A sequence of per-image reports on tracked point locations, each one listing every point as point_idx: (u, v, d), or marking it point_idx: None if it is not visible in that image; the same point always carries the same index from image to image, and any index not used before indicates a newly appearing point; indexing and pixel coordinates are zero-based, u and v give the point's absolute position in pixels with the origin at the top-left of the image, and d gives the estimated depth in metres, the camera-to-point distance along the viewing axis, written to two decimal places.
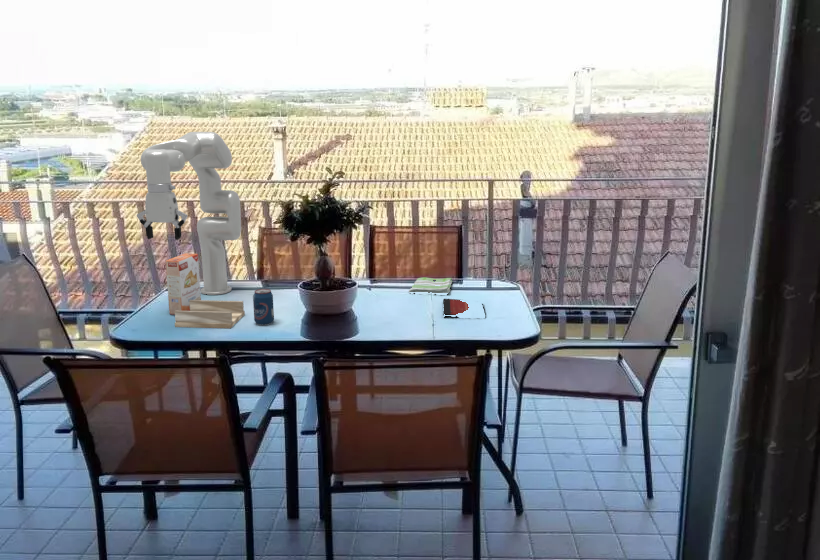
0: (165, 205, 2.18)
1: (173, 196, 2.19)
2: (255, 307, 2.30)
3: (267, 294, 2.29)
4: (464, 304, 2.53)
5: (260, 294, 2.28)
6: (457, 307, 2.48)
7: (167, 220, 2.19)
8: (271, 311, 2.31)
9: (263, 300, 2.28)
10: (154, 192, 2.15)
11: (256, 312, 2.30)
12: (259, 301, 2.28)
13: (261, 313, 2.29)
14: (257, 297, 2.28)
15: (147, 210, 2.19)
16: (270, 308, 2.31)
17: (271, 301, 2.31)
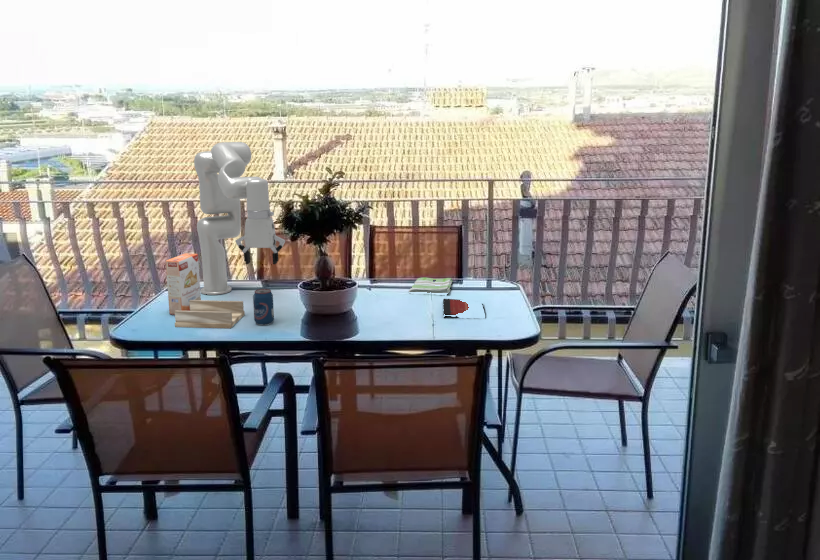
0: (264, 231, 2.23)
1: (272, 222, 2.24)
2: (255, 307, 2.30)
3: (267, 294, 2.29)
4: (464, 304, 2.53)
5: (260, 294, 2.28)
6: (457, 307, 2.48)
7: (266, 245, 2.24)
8: (271, 311, 2.31)
9: (263, 299, 2.28)
10: (255, 218, 2.21)
11: (256, 312, 2.30)
12: (259, 301, 2.28)
13: (261, 313, 2.29)
14: (257, 297, 2.28)
15: (246, 236, 2.24)
16: (270, 308, 2.31)
17: (271, 301, 2.31)
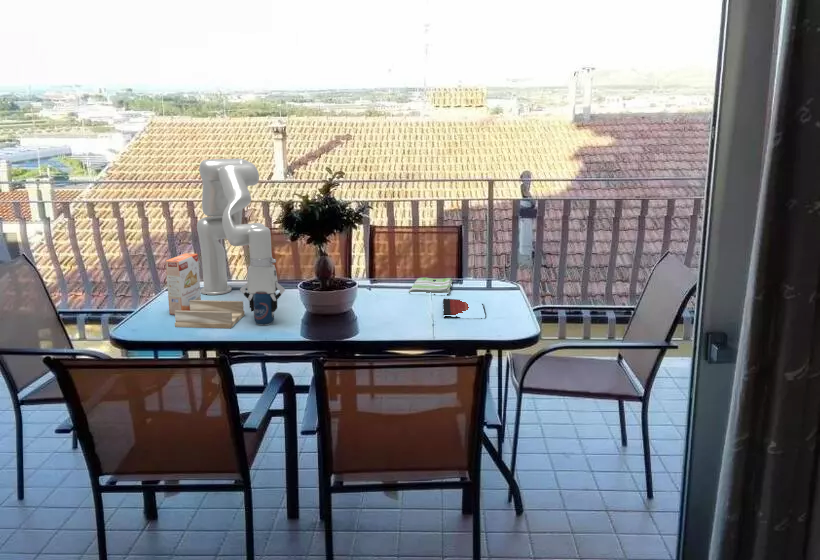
0: (266, 278, 2.27)
1: (274, 269, 2.28)
2: (255, 307, 2.30)
3: (267, 294, 2.29)
4: (464, 304, 2.53)
5: (260, 294, 2.28)
6: (457, 307, 2.48)
7: (268, 292, 2.29)
8: (271, 311, 2.31)
9: (263, 299, 2.28)
10: (257, 266, 2.25)
11: (256, 312, 2.30)
12: (259, 301, 2.28)
13: (261, 313, 2.29)
14: (257, 297, 2.28)
15: (249, 282, 2.28)
16: (270, 308, 2.31)
17: (271, 301, 2.31)
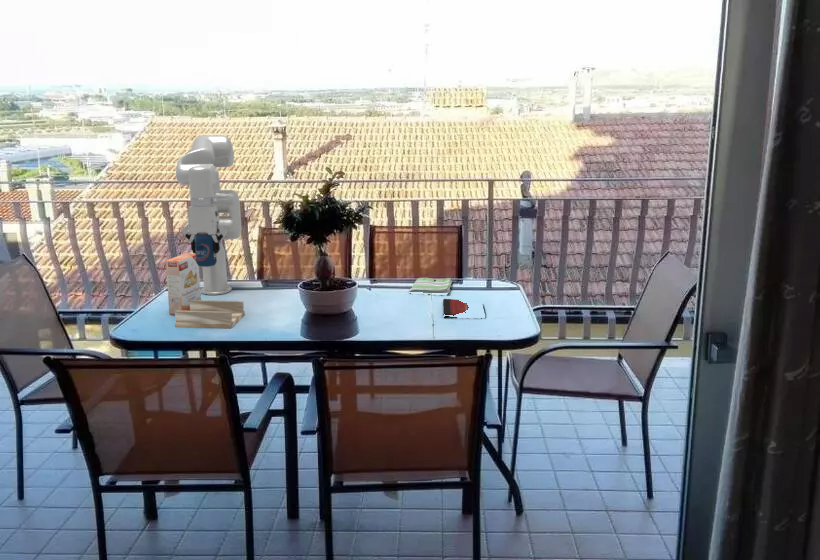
0: (207, 218, 2.24)
1: (215, 209, 2.25)
2: (196, 248, 2.27)
3: (208, 235, 2.26)
4: (464, 304, 2.53)
5: (201, 235, 2.25)
6: (457, 307, 2.48)
7: (209, 233, 2.26)
8: (213, 253, 2.28)
9: (204, 240, 2.25)
10: (197, 206, 2.22)
11: (197, 253, 2.27)
12: (200, 242, 2.25)
13: (202, 255, 2.26)
14: (198, 238, 2.25)
15: (190, 223, 2.25)
16: (212, 250, 2.28)
17: (213, 242, 2.28)
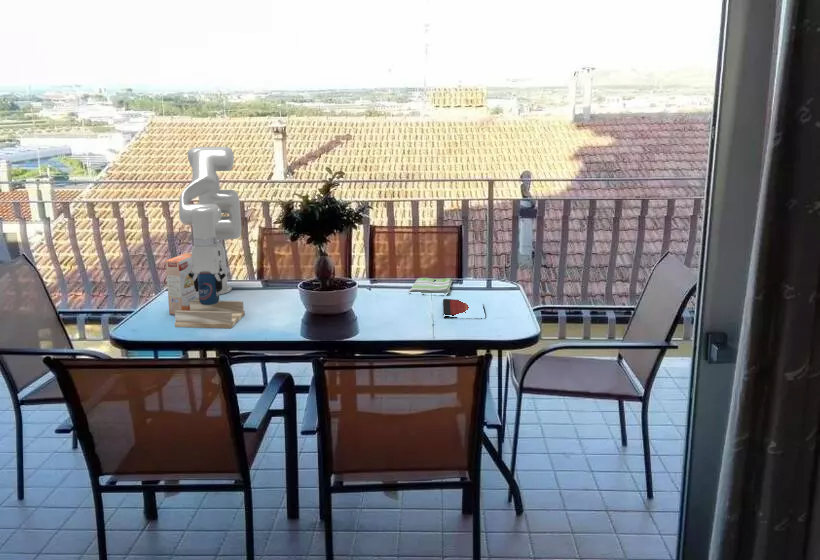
0: (210, 258, 2.28)
1: (218, 249, 2.29)
2: (199, 287, 2.30)
3: (211, 274, 2.29)
4: (464, 304, 2.53)
5: (204, 274, 2.29)
6: (457, 307, 2.48)
7: (212, 272, 2.29)
8: (216, 291, 2.32)
9: (207, 280, 2.29)
10: (200, 246, 2.25)
11: (200, 292, 2.30)
12: (203, 281, 2.29)
13: (205, 293, 2.30)
14: (201, 277, 2.29)
15: (193, 263, 2.29)
16: (215, 288, 2.31)
17: (215, 281, 2.31)
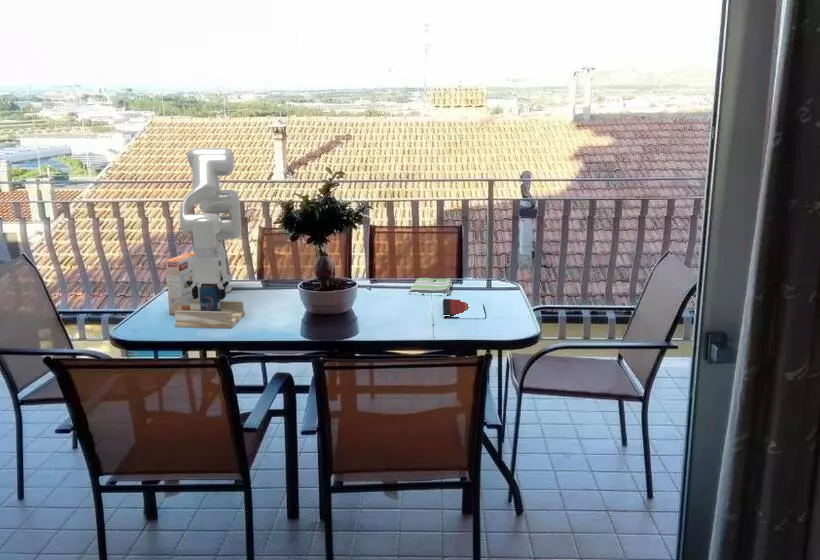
0: (211, 268, 2.29)
1: (218, 259, 2.30)
2: (201, 301, 2.32)
3: (212, 288, 2.31)
4: (464, 304, 2.53)
5: (205, 288, 2.30)
6: (457, 307, 2.48)
7: (213, 282, 2.30)
8: (217, 305, 2.33)
9: (208, 293, 2.30)
10: (201, 256, 2.26)
11: (202, 305, 2.32)
12: (204, 295, 2.30)
13: (207, 307, 2.31)
14: (202, 290, 2.30)
15: (194, 272, 2.30)
16: (216, 302, 2.33)
17: (217, 295, 2.32)
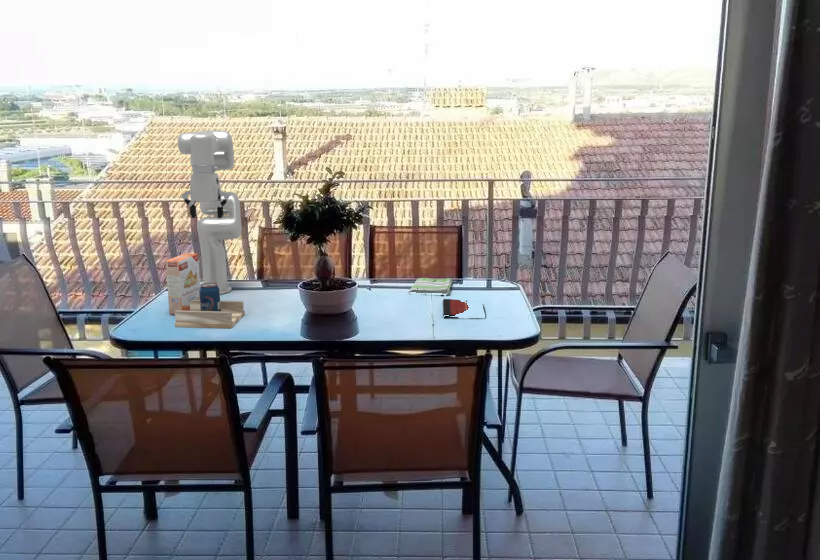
0: (209, 185, 2.31)
1: (216, 177, 2.32)
2: (201, 301, 2.32)
3: (212, 288, 2.31)
4: (464, 304, 2.52)
5: (205, 288, 2.30)
6: (457, 307, 2.48)
7: (211, 199, 2.32)
8: (217, 305, 2.33)
9: (208, 293, 2.30)
10: (199, 173, 2.28)
11: (202, 306, 2.32)
12: (204, 295, 2.30)
13: (207, 307, 2.31)
14: (202, 291, 2.30)
15: (192, 190, 2.31)
16: (216, 302, 2.33)
17: (217, 295, 2.32)
